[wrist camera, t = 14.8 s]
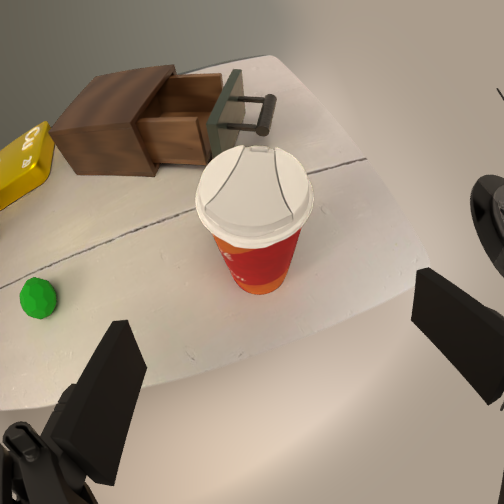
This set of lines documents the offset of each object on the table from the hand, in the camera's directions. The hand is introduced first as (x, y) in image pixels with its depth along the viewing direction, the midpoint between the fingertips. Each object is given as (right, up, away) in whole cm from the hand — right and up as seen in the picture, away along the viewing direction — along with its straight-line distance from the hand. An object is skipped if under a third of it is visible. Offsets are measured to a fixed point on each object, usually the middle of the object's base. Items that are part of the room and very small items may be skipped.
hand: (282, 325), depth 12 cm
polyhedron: (-26, -4, +17) cm, 32 cm away
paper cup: (-1, +1, +18) cm, 18 cm away
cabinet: (-20, +20, +28) cm, 40 cm away
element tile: (-45, +19, +29) cm, 57 cm away
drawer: (-8, +19, +26) cm, 33 cm away
